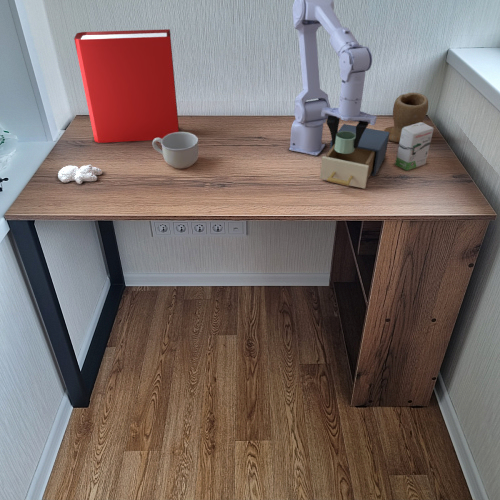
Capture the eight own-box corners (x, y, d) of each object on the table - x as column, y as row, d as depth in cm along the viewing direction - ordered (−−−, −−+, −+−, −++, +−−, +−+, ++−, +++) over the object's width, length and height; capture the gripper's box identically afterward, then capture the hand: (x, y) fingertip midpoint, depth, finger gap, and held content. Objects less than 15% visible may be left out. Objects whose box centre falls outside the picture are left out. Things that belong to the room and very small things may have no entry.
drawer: (360, 197, 136) (363, 175, 132) (314, 186, 141) (316, 165, 137) (375, 169, 149) (378, 148, 145) (332, 160, 153) (335, 140, 149)
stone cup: (389, 148, 161) (398, 102, 152) (380, 132, 171) (387, 88, 162) (436, 147, 162) (447, 101, 153) (424, 131, 171) (434, 87, 162)
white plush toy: (92, 185, 142) (90, 176, 141) (53, 181, 144) (50, 172, 142) (105, 171, 149) (103, 161, 147) (67, 167, 151) (65, 158, 149)
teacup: (206, 160, 155) (204, 135, 150) (188, 175, 147) (185, 150, 142) (167, 151, 159) (164, 127, 155) (147, 166, 152) (144, 141, 147)
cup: (337, 143, 144) (339, 129, 141) (357, 147, 142) (359, 133, 140) (331, 151, 140) (333, 137, 137) (351, 155, 138) (353, 141, 135)
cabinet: (374, 176, 147) (379, 150, 142) (327, 166, 152) (330, 140, 147) (385, 156, 157) (389, 132, 152) (340, 148, 161) (343, 123, 156)
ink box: (406, 171, 149) (414, 134, 142) (393, 164, 153) (401, 127, 145) (426, 163, 153) (435, 127, 146) (413, 157, 156) (421, 121, 149)
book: (178, 128, 173) (169, 29, 154) (179, 138, 167) (169, 36, 147) (97, 132, 170) (77, 32, 151) (94, 143, 164) (73, 39, 145)
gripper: (319, 97, 131) (315, 145, 140) (374, 106, 127) (367, 155, 135) (327, 88, 137) (323, 135, 145) (381, 96, 132) (373, 145, 140)
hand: (345, 144), depth 140 cm, fingers closed on cup, 5 cm apart
